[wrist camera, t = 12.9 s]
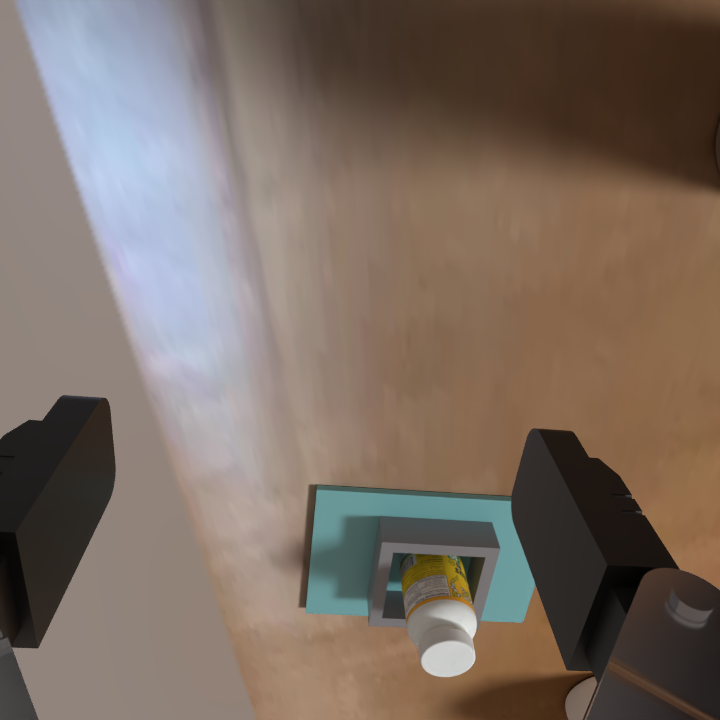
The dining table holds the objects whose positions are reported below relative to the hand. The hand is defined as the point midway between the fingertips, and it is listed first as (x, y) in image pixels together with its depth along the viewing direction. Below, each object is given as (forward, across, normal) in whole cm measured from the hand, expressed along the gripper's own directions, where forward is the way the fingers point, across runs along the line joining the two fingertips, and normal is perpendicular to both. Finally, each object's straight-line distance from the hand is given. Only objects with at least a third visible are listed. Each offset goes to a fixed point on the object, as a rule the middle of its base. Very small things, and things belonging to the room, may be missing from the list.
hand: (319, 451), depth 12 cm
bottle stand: (+30, -11, +32) cm, 45 cm away
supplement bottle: (+30, -11, +32) cm, 45 cm away
